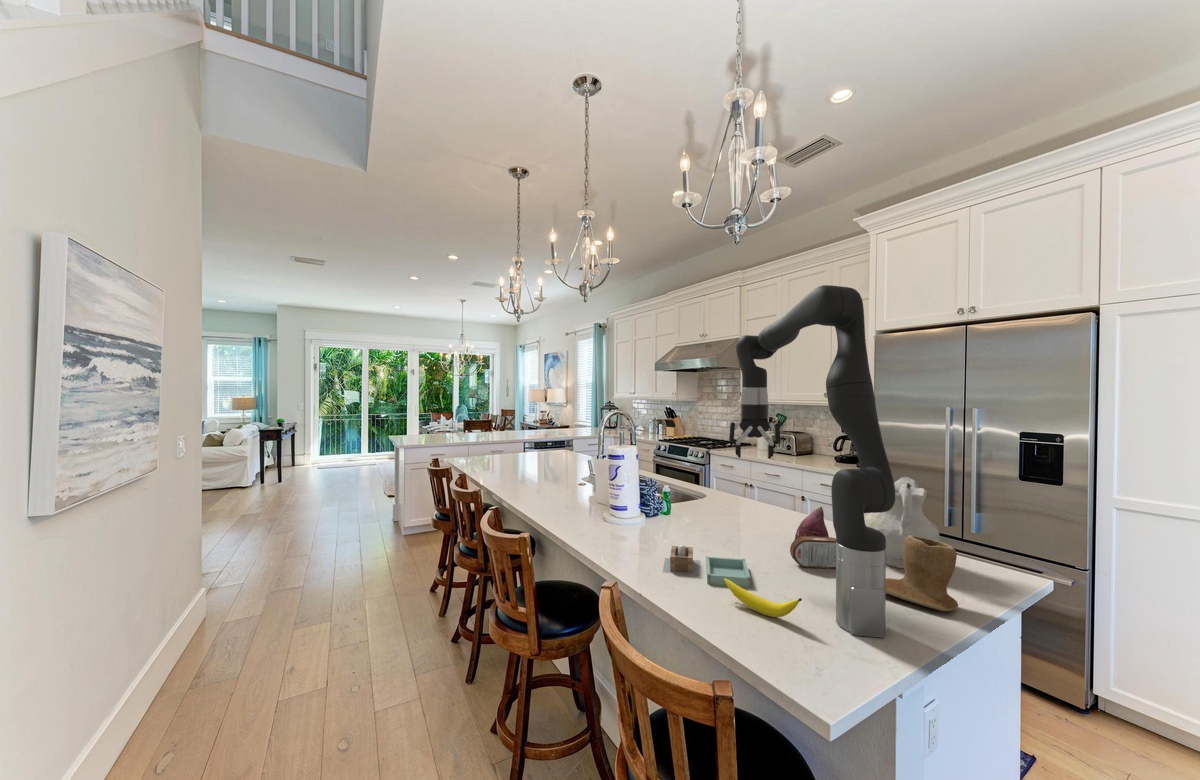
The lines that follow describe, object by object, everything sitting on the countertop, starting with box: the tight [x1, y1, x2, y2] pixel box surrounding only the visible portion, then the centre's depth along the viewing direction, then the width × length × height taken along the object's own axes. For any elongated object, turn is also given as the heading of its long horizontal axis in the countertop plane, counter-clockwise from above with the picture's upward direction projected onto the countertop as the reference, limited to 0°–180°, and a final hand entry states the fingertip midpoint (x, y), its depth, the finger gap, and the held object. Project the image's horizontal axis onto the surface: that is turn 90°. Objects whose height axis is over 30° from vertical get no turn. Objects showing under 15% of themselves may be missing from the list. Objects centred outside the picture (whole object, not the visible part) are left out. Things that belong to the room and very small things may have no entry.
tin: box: [789, 536, 836, 570], centre depth 132 cm, size 15×3×8 cm, turn 84°
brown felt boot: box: [886, 535, 959, 612], centre depth 111 cm, size 15×12×15 cm
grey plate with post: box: [662, 544, 701, 576], centre depth 131 cm, size 11×10×6 cm
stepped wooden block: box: [669, 545, 694, 573], centre depth 131 cm, size 9×6×4 cm, turn 168°
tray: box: [705, 556, 752, 588], centre depth 125 cm, size 14×11×3 cm
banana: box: [724, 578, 802, 618], centre depth 105 cm, size 3×19×6 cm, turn 41°
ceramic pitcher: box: [864, 475, 940, 570], centre depth 135 cm, size 22×20×25 cm
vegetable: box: [794, 506, 830, 540], centre depth 149 cm, size 10×10×15 cm
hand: (754, 457), depth 138 cm, fingers open, 8 cm apart
